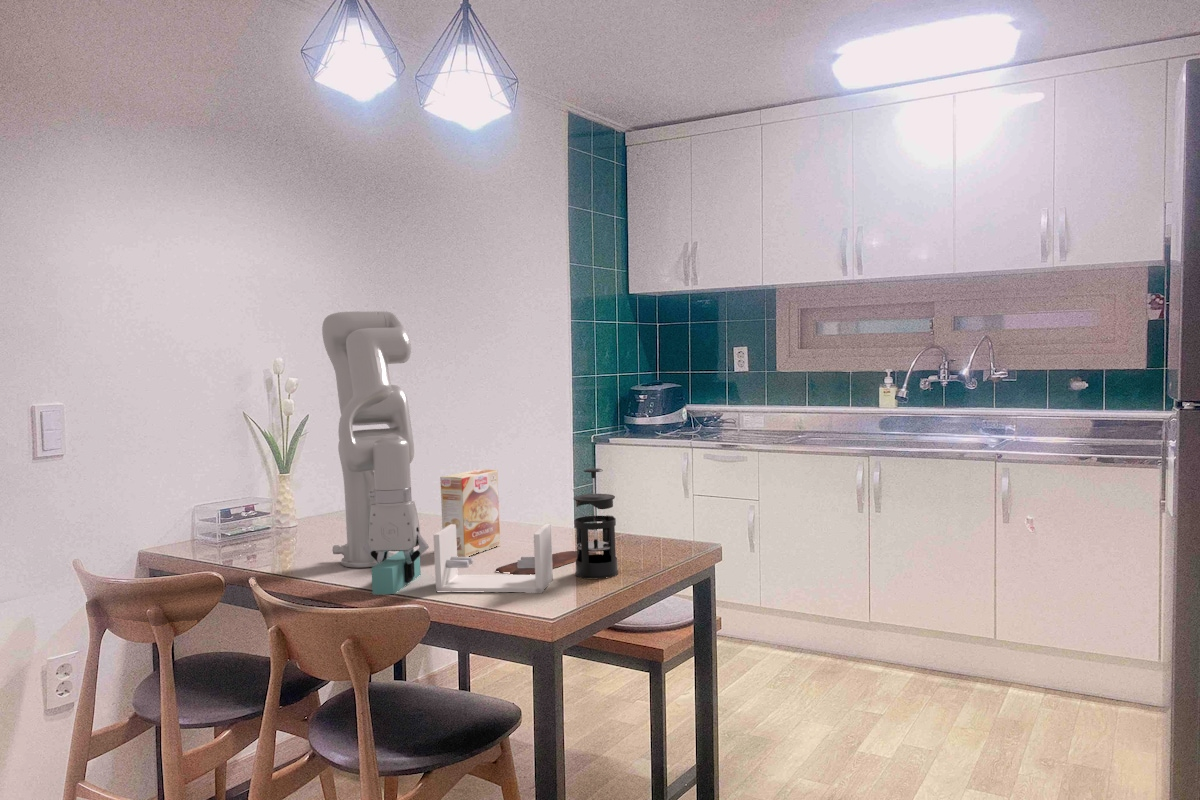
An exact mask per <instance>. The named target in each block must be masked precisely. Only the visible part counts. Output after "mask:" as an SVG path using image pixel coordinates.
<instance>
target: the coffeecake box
mask: <svg viewBox="0 0 1200 800" xmlns="http://www.w3.org/2000/svg"><path fill="white" fill-rule="evenodd" d="M498 472H499V471H498V470H496V469H478V468H477V469H472V470H469V471H463V472H459V473H454V474H453V473H452V474H449V475H445V476H440V477H439V480H440V501H441V502H440V503H441V527H442V529H444V528H445V527H447V526H449V525H450V524H456V539H457V556H458V557H467V556H470V555H473V554H476V553H478V552H481V553H483V552H482V551H484V550H487V551H489V550H488V549H490V550H492V549H491V548H493V549H495V548H494V547H496V546H499V545H500V546H501V536H500V535H501V533H500V504H499V502H500V501H499V482H498V481H499V478H498V477H499V476H498ZM442 529H441V530H442ZM500 546H499V547H500ZM496 548H497V547H496ZM484 552H485V551H484ZM476 555H477V554H476ZM473 556H474V555H473ZM470 557H471V556H470Z"/></svg>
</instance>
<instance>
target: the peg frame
mask: <svg viewBox="0 0 1200 800" xmlns="http://www.w3.org/2000/svg"><path fill="white" fill-rule="evenodd" d="M552 544H553V542H552V524H551V523H545V524H544V525H542V527H540V528H539V529H538V530H536V532H535V533H533V546H534V547H533V549H534V553H533V554H534V556H521V558H520V559H518V560H517V561H516V562H517V567H518V568H535V574H532V575H509V574H459V569H468V568H469V566H470V565H473V562H474V558H473V556H470V557H457V539H456V524H450V525H449V526H447V527H445V528H444V529H441V530H439V531H437V532H436V533H434V534H433V550H434V552H433V554H434V555H433V556H434V557H433V558H434V575H435V592H436V591H484V592H527V593H526V594H543V593H542V592H544V591H545V590H546V589H547V588H548V586H549V585H550V584H551V583H552V582H553V580H554V572H553V571H554V568H553V566H552V554H553V546H552ZM550 582H551V583H550ZM549 583H550V584H549ZM546 587H547V588H546ZM545 588H546V589H545ZM544 589H545V590H544ZM531 592H532V593H531Z"/></svg>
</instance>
